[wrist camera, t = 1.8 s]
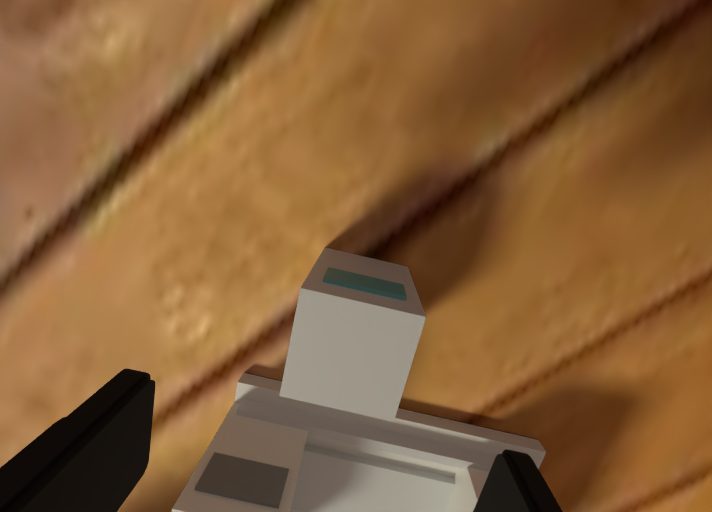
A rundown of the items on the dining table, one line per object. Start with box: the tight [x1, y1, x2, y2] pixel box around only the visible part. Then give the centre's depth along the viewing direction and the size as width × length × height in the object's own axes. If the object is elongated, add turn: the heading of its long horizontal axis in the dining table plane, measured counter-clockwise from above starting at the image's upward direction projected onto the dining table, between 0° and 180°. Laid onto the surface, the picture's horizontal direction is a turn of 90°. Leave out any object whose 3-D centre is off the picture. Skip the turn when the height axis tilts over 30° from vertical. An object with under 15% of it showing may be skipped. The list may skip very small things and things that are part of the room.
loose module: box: [279, 247, 426, 422], centre depth 17 cm, size 5×5×7 cm
